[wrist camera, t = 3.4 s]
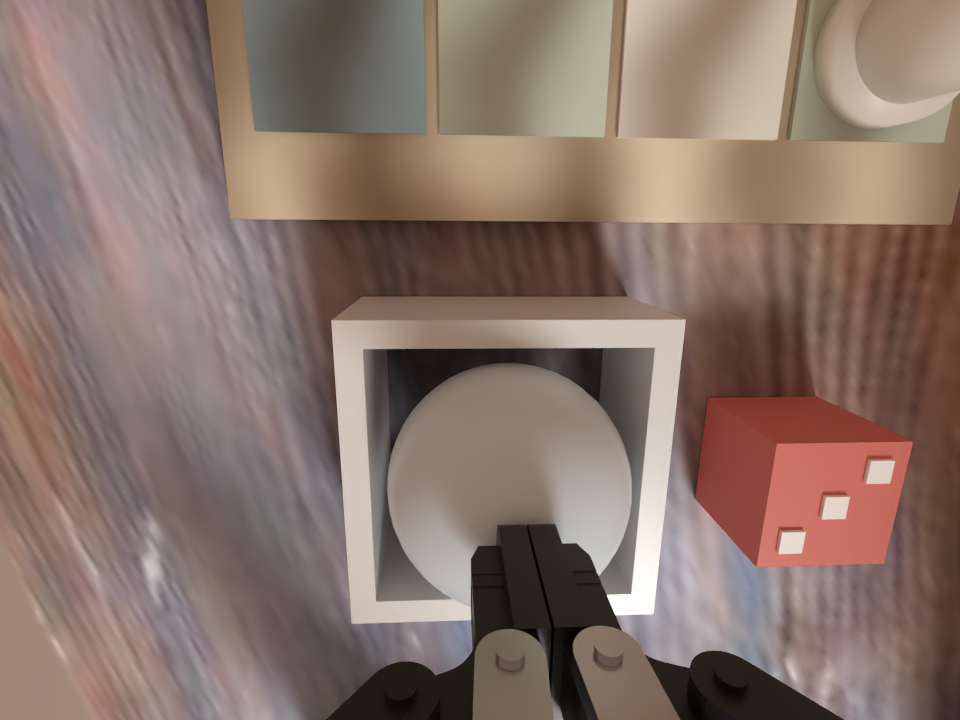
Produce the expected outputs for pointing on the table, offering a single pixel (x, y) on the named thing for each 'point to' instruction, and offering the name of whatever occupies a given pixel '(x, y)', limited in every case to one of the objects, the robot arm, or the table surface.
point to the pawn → (888, 60)
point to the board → (556, 115)
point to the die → (800, 480)
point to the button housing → (500, 324)
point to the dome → (505, 470)
